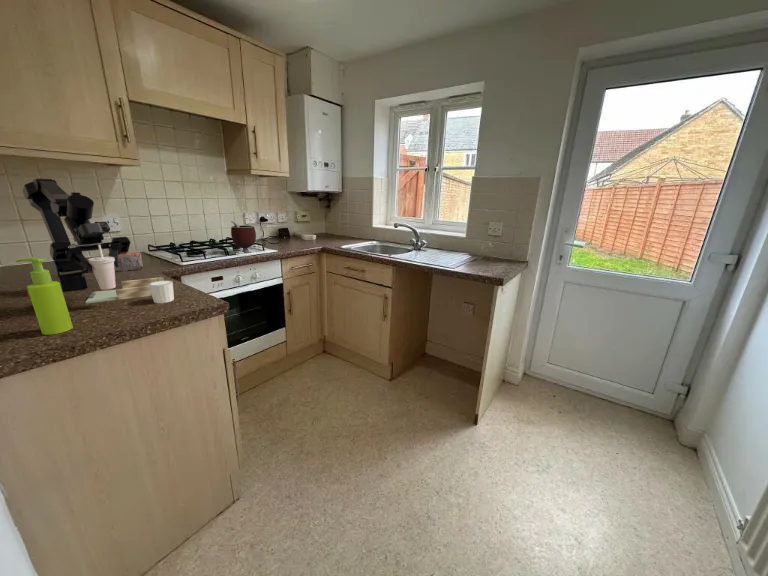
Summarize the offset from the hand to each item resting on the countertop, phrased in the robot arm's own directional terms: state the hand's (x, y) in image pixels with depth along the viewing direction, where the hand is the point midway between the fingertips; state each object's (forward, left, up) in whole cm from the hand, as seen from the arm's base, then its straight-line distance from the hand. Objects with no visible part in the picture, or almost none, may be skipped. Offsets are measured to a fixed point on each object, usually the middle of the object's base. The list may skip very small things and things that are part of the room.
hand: (105, 268), depth 97 cm
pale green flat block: (-4, +14, -13) cm, 20 cm away
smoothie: (-1, +1, -7) cm, 7 cm away
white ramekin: (+13, -1, -13) cm, 19 cm away
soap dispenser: (-11, -14, -13) cm, 22 cm away
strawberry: (-18, +9, -13) cm, 24 cm away
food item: (-4, +62, -14) cm, 64 cm away
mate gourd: (+52, +82, -13) cm, 98 cm away
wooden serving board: (+6, +14, -13) cm, 20 cm away
